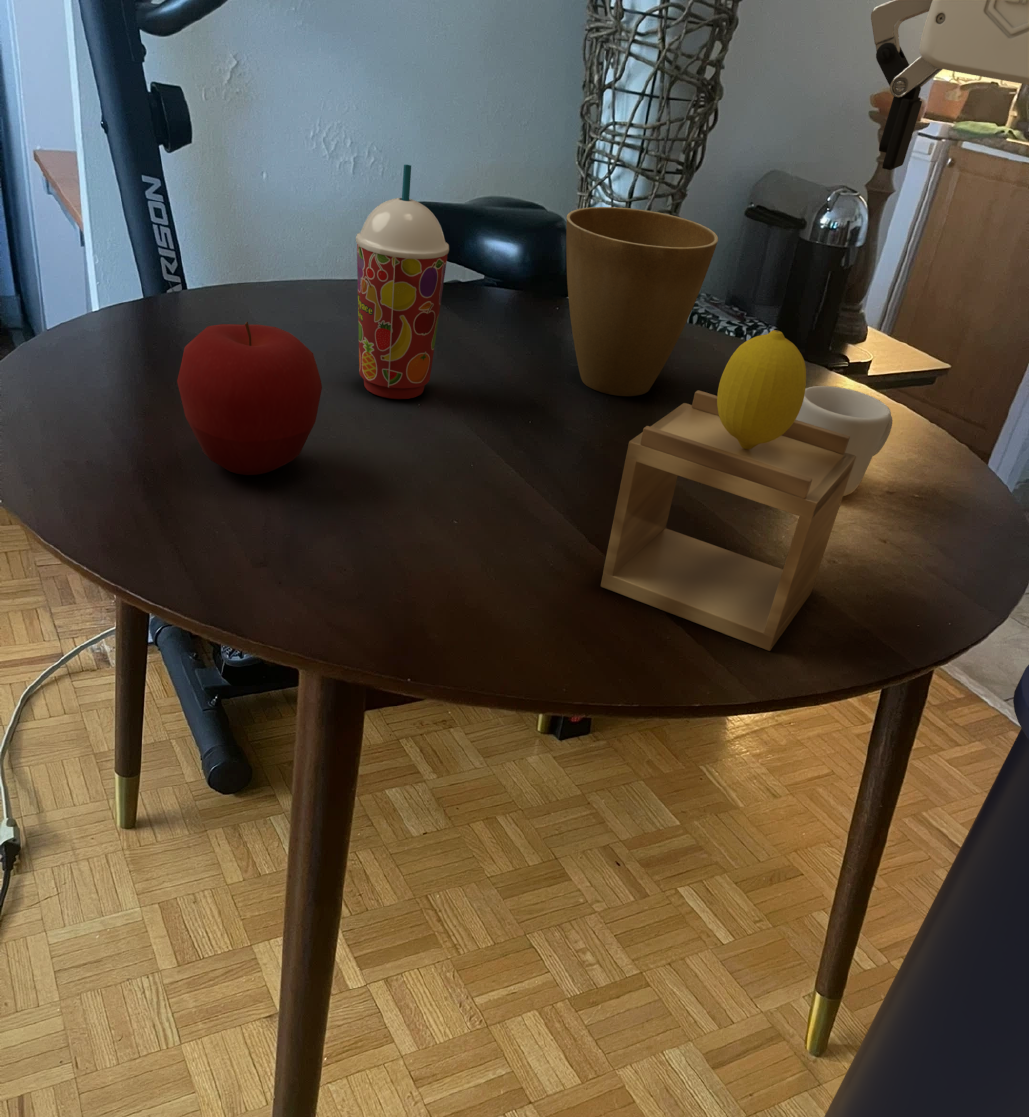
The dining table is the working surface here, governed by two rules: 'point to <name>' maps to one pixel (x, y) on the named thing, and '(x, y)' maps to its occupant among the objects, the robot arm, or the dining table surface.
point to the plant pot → (631, 291)
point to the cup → (849, 423)
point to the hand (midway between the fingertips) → (966, 183)
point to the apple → (249, 395)
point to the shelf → (707, 570)
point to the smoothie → (399, 295)
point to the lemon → (761, 389)
